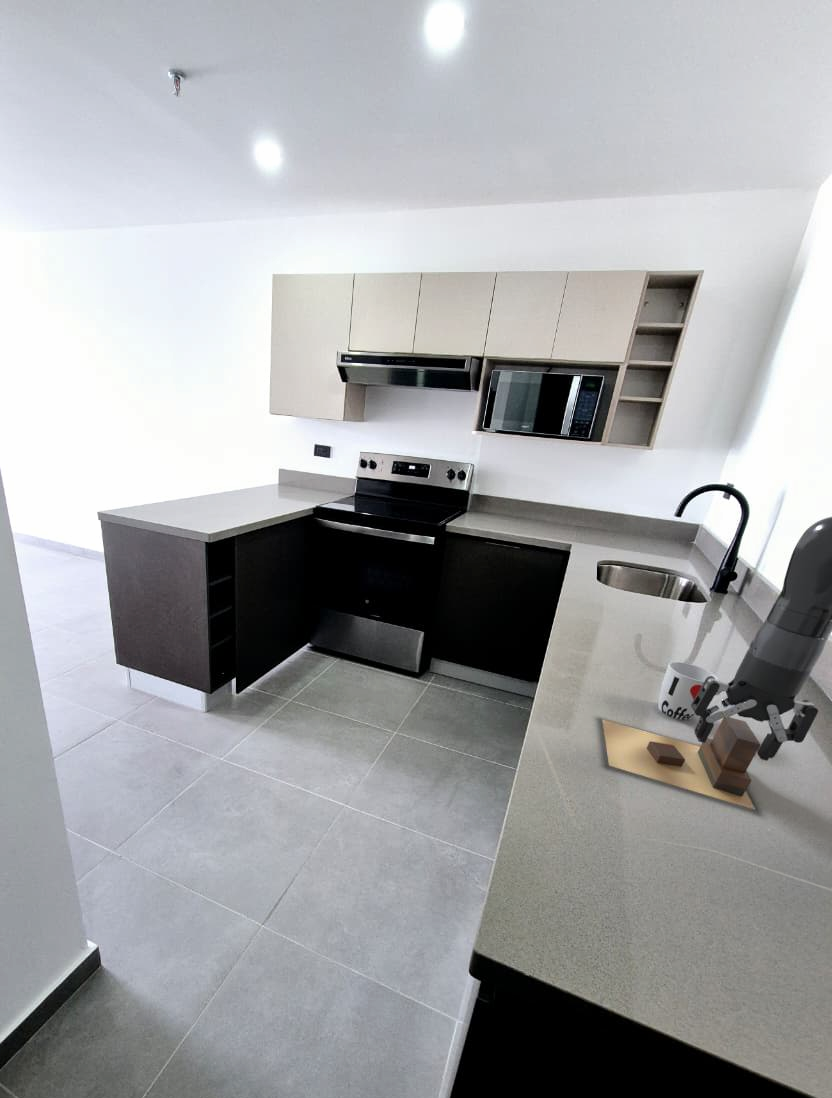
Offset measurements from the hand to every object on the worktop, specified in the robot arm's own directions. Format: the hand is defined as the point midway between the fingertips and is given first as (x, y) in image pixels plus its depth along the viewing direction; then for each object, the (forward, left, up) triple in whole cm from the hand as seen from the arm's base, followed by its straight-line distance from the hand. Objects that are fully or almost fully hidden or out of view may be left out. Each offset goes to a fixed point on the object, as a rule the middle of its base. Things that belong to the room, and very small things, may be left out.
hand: (730, 748), depth 78 cm
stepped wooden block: (0, 0, -5) cm, 5 cm away
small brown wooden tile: (+8, 0, -5) cm, 9 cm away
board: (+7, 0, -6) cm, 9 cm away
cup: (+3, -19, -6) cm, 20 cm away
